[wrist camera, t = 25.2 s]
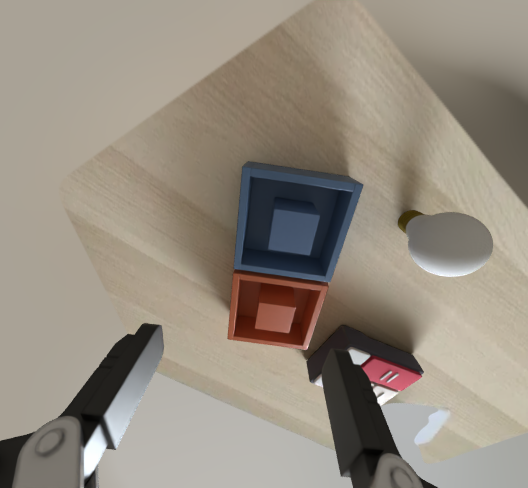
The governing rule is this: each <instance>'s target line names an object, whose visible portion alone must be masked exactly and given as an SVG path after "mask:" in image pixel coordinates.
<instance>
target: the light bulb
mask: <svg viewBox="0 0 528 488" xmlns="http://www.w3.org/2000/svg"><path fill="white" fill-rule="evenodd" d="M398 226H399V228H400V229H401V230H402V231H403V232H404V233H406V235H407V237H408V239H409V241H408V248H409V252H410V254H411V257H412V258H413V260H414V261H415V262H416V263H417V264H418V265H419V266H420V267H421V268H423V269H424V270H426V271H428V272H430V273H433V274H436V275H440V276H449V277H453V276H462V275H466V274H469V273H472V272H474V271H476V270H477V269H479V268H480V267H482V266H483V265H484V264H485V263H486V262H487V260H488V259H489V257H490V256H491V253H492V249H493V240H492V236H491V234H490V232H489V230H488V229H487V228H486V226H485V225H484V224H483V223H481V222H480V221H479V220H477V219H475V218H474V217H471V216H469V215H466V214H462V213H455V212H446V213H439V214H435V215H425V214H423V213H420V212H418V211H415V210H410V211H407V212H405V213H403V214H402V215H401V216H400V218H399V220H398Z"/></svg>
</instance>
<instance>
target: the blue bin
mask: <svg viewBox="0 0 528 488" xmlns="http://www.w3.org/2000/svg"><path fill="white" fill-rule="evenodd" d="M362 188H363V184H361V183H360V182H358V181H356V180H354V179H353V178H351V177H349V176H343V175H336V174H329V173H323V172H316V171H310V170H303V169H296V168H290V167H283V166H276V165H270V164H263V163H257V162H250V161H248V162H247V163H246V164H245V165H244V166H243V167H242V177H241V189H240V200H239V212H238V224H237V235H236V247H235V258H234V269H238V270H246V271H253V272H260V273H267V274H274V275H281V276H288V277H295V278H302V279H309V280H316V281H324V282H330V281H331V278H332V275H333V272H334V270H335V267H336V264H337V261H338V258H339V255H340V252H341V249H342V246H343V243H344V240H345V237H346V235H347V232H348V229H349V226H350V223H351V220H352V217H353V214H354V211H355V208H356V205H357V202H358V200H359V197H360V194H361V191H362ZM275 197H278V198H285V199H292V200H299V201H305V202H312V203H313V204H314V205H315V207H316V209H317V211H318V213H319V214H320V218H319V222H318V225H317V229H316V233H315V237H314V240H313V244H312V248H311V252H310V255H305V254H298V253H291V252H284V251H277V250H270V249H268V240H269V229H270V223H271V216H272V210H273V204H274V198H275Z"/></svg>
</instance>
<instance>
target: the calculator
mask: <svg viewBox="0 0 528 488" xmlns="http://www.w3.org/2000/svg"><path fill="white" fill-rule="evenodd" d="M331 348H333V349H341V350H347V351H349V353H350V355H351V358H352V361H353V363H354V364H358V365H360V366H361V367H362V369H363V370H364V371H365V373H366V374H367V375H368V377H369V380H370V382H371V385H372V387H373V391H374V392H375V395H376V397H377V400H378V404H379V405H382V404H383V403H385V402H386V401H388V400H389V399H391V398H392V397H394V396H395V395H397V394H398V392H397V391H398V390H399V391H402V390H404V389H405V388H407V387H408V386H410V385H411V384H413V383H414V382H416V381H417V380H419V379H420V378H421V377H422V376H421V375H422V374H423V373H424V371H423V370H422V368H421V367H420V365H419V363H418V362H417V360H416V359H415V357H414V356H413V355H411V354H409V353H406V352H404V351H401V350H399V349H396V348H393V347H391V346H388V345H386V344H383V343H381V342H378V341H376V340H373V339H371V338H368V337H366V336H365V335H364V334H363V333H361V332H360V331H357V330H355V329H352V328H350V327H347V326H344V325H343V326H341V327H340V328H339V329H338V330H337V331H336V332H335V333H334V334H333V335H332V336H331V337H330V338H329V339H328V340H327V341H326V342H325V343H324V344H323V345H322V346H321V347H320V348H319V349H318V350H317V351H316V352H315V353H314V354H313V355H312V356H311V357H310V359H309V360H308V361H307V368H308V374H309V379H310V382H311V383H314V384H316V385H319V386H322V387H323V384H322V368H323V365H324V363H325V360H326V358H327V356H328V353H329V351H330V349H331Z"/></svg>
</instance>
